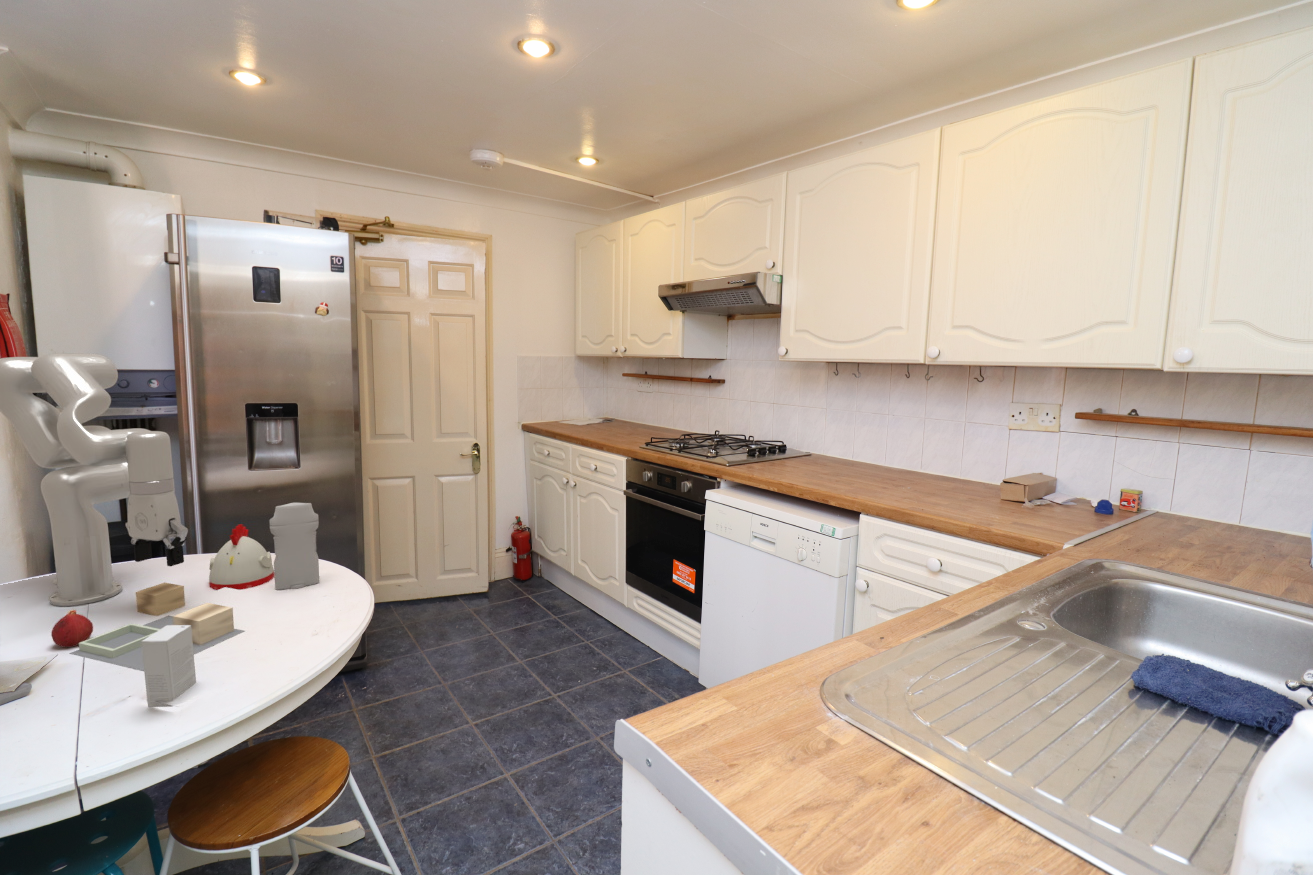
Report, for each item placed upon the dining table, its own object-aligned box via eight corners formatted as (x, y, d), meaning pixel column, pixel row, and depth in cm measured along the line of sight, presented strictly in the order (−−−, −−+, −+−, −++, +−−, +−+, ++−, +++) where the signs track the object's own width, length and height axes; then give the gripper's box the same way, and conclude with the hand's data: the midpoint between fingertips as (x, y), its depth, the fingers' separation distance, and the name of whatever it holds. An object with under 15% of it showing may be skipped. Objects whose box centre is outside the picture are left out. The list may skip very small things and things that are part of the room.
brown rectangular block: (174, 639, 120) (172, 615, 120) (209, 624, 127) (207, 602, 126) (200, 644, 118) (198, 621, 118) (234, 629, 125) (232, 607, 124)
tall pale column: (273, 592, 148) (268, 506, 145) (272, 587, 151) (268, 503, 148) (322, 584, 154) (318, 502, 151) (320, 579, 157) (316, 498, 154)
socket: (79, 650, 115) (78, 642, 115) (132, 629, 124) (131, 623, 123) (113, 658, 112) (112, 650, 112) (164, 636, 121) (164, 629, 121)
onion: (68, 657, 114) (64, 618, 113) (45, 653, 115) (41, 614, 114) (102, 643, 120) (98, 606, 119) (79, 640, 121) (75, 602, 120)
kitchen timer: (198, 592, 146) (194, 533, 144) (224, 572, 160) (221, 518, 158) (261, 589, 150) (258, 531, 148) (282, 570, 163) (279, 517, 161)
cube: (137, 617, 132) (135, 591, 131) (166, 606, 138) (164, 582, 137) (157, 621, 130) (155, 595, 130) (185, 610, 136) (183, 585, 135)
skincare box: (172, 687, 105) (166, 624, 104) (197, 687, 106) (192, 624, 104) (145, 707, 99) (139, 640, 98) (172, 707, 100) (167, 640, 98)
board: (69, 659, 114) (69, 653, 114) (169, 620, 131) (168, 615, 131) (153, 679, 108) (152, 673, 108) (245, 636, 125) (245, 630, 125)
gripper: (104, 488, 129) (112, 563, 131) (162, 493, 124) (170, 571, 126) (142, 481, 136) (149, 553, 138) (199, 486, 131) (205, 560, 134)
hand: (159, 562), depth 132 cm, fingers open, 9 cm apart
